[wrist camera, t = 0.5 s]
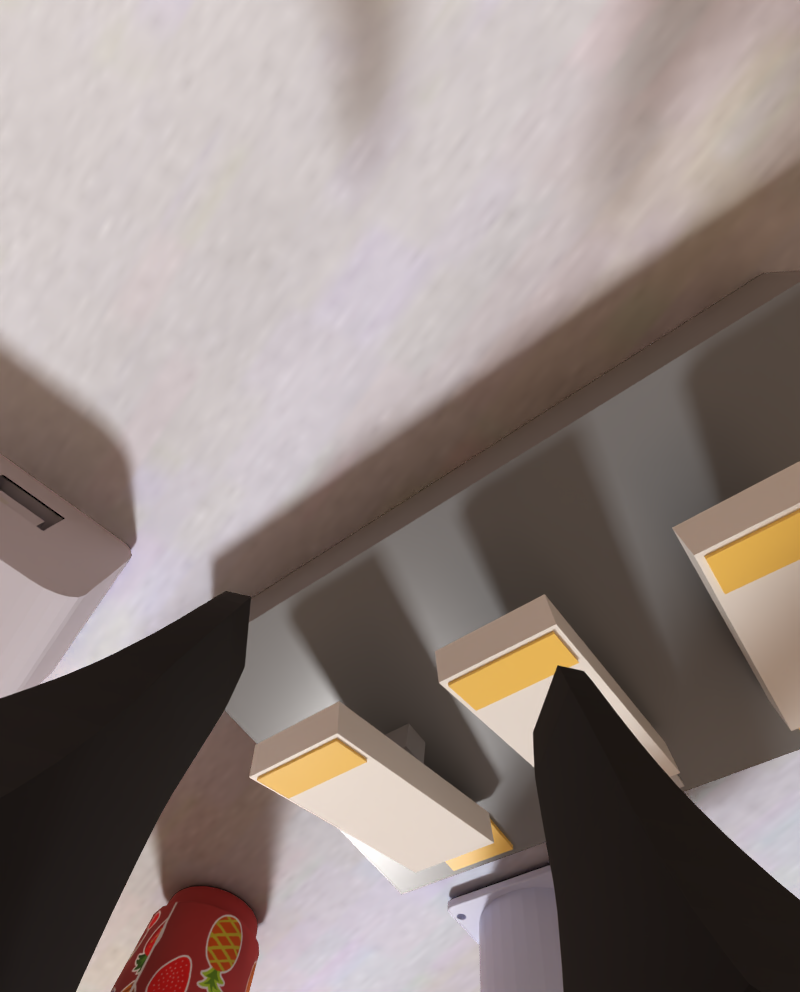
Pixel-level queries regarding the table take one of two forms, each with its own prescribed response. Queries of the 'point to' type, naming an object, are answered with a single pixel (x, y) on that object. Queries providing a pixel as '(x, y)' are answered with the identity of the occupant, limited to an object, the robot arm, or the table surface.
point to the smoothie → (195, 946)
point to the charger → (46, 577)
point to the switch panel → (555, 571)
